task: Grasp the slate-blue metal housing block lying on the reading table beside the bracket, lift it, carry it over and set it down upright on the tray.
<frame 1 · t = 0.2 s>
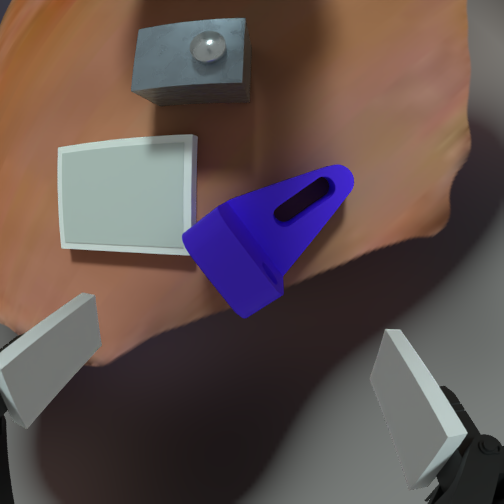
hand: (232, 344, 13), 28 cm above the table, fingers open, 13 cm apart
tray: (124, 194, 40), on the table
housing: (204, 75, 35), on the table
bracket: (285, 212, 39), on the table
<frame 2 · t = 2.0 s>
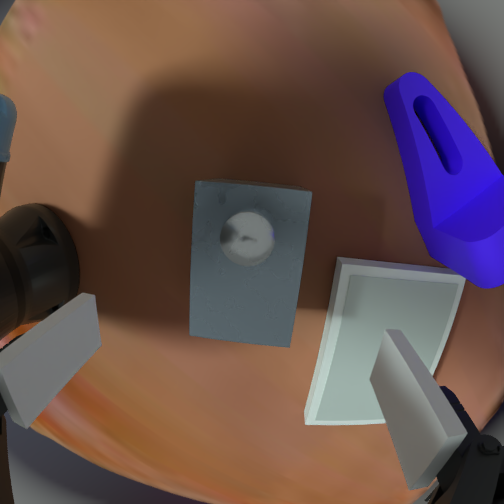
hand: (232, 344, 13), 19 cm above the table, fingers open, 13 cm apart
tray: (380, 348, 33), on the table
housing: (253, 242, 31), on the table
bracket: (432, 159, 27), on the table
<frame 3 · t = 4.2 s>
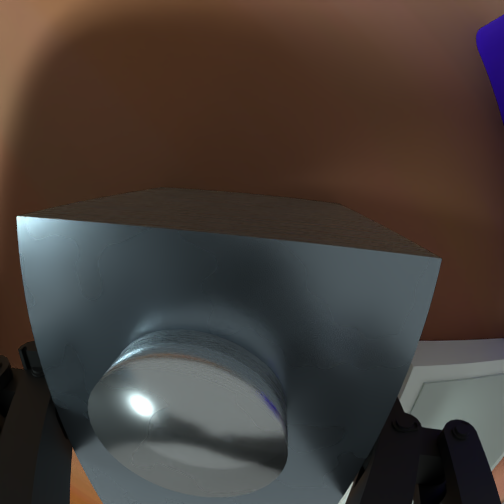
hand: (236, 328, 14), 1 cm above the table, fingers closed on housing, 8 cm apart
tray: (433, 451, 17), on the table
housing: (238, 318, 15), on the table, touching gripper
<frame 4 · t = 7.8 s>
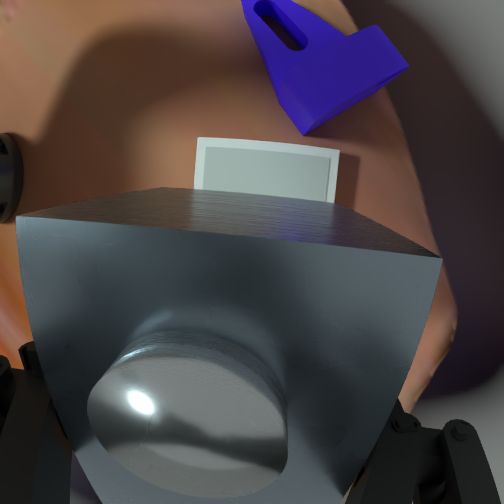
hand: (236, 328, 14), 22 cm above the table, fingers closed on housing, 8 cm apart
tray: (260, 235, 36), on the table
housing: (238, 318, 15), point 22 cm above the table, touching gripper
bracket: (295, 53, 30), on the table
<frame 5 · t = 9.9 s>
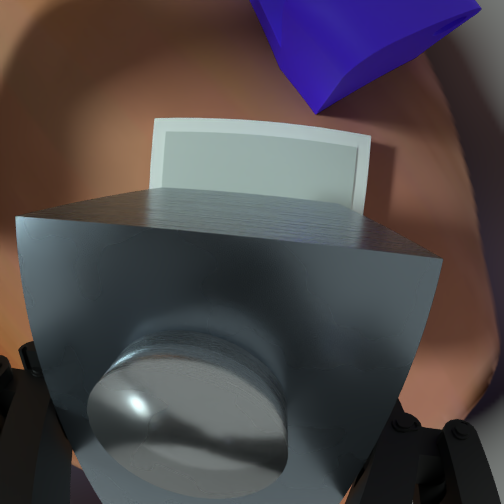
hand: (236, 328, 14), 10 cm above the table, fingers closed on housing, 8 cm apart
tray: (250, 262, 24), on the table
housing: (238, 318, 15), point 10 cm above the table, touching gripper
bracket: (300, 3, 19), on the table
when the fingers open (5 cm above the table, at t = 11.5 s): housing drops 1 cm, resting on tray.
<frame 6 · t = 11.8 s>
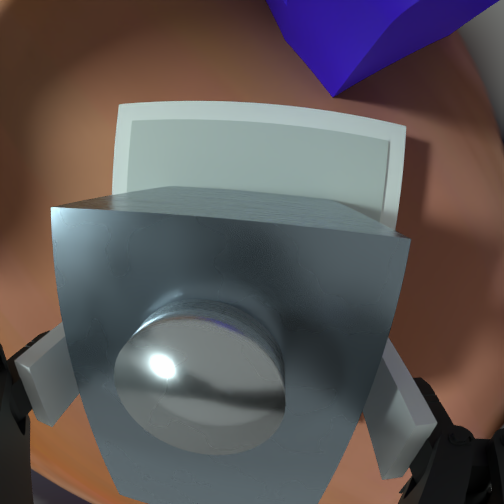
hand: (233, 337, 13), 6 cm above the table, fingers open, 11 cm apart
tray: (245, 291, 19), on the table
housing: (240, 307, 16), point 3 cm above the table, touching tray
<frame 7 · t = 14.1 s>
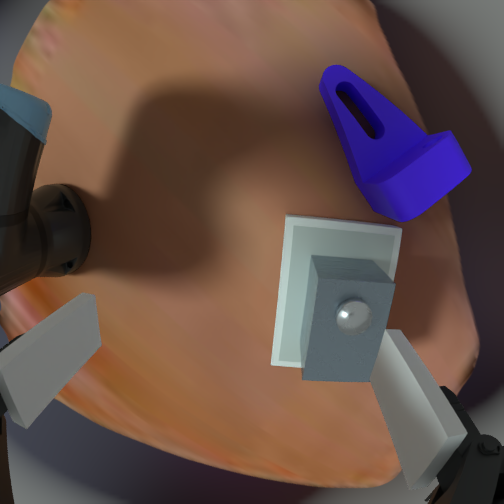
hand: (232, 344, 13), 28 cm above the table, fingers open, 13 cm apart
tray: (332, 295, 41), on the table
housing: (335, 302, 39), point 3 cm above the table, touching tray
bracket: (366, 131, 36), on the table
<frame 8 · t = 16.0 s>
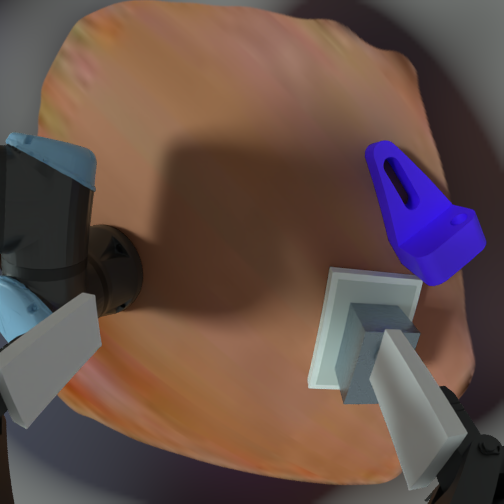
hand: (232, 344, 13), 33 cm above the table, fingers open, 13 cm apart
tray: (362, 331, 47), on the table
housing: (366, 338, 45), point 3 cm above the table, touching tray
bracket: (400, 195, 42), on the table
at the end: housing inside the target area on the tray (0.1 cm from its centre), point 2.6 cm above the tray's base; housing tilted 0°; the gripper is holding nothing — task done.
